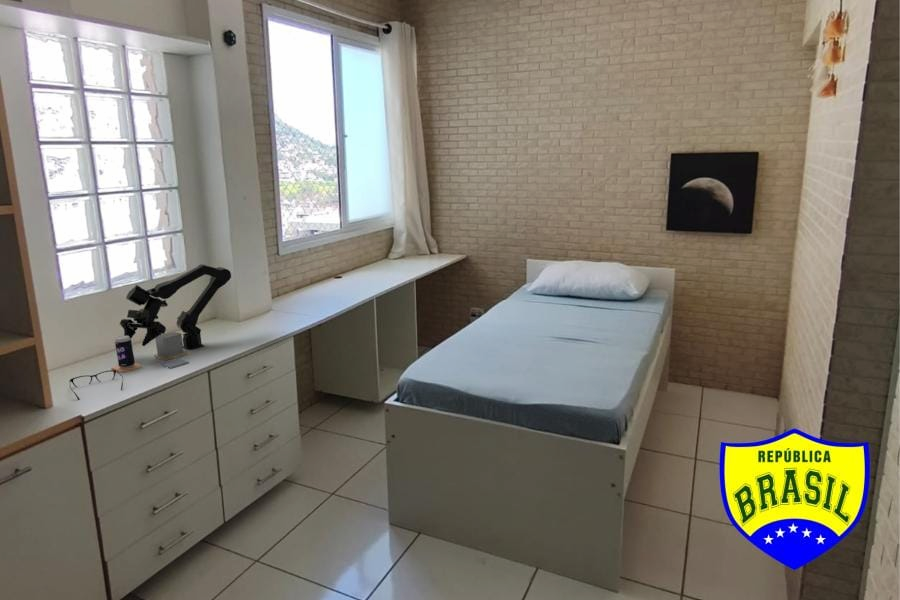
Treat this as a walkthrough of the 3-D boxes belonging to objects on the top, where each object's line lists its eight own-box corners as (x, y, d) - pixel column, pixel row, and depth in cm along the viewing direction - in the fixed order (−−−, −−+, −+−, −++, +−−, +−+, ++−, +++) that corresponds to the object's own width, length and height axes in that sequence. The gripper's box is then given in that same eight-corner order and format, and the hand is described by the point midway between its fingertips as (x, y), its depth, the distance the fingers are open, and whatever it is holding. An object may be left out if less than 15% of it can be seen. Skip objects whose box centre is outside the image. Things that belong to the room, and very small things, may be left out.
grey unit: (177, 350, 259) (174, 330, 257) (187, 354, 255) (184, 333, 253) (154, 357, 251) (151, 336, 249) (164, 360, 247) (161, 339, 245)
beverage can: (120, 365, 241) (115, 336, 238) (135, 363, 243) (131, 334, 240) (118, 369, 236) (113, 340, 233) (134, 367, 238) (129, 338, 235)
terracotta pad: (131, 363, 245) (131, 361, 245) (141, 366, 240) (141, 365, 240) (111, 369, 239) (111, 367, 238) (121, 372, 234) (121, 371, 234)
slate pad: (178, 359, 248) (177, 358, 248) (189, 363, 244) (189, 361, 244) (159, 365, 242) (159, 363, 242) (170, 368, 237) (170, 367, 237)
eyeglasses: (119, 378, 230) (118, 368, 229) (127, 390, 217) (125, 380, 216) (69, 388, 220) (67, 378, 219) (73, 402, 208) (71, 391, 207)
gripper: (119, 299, 246) (101, 333, 238) (156, 302, 240) (139, 337, 233) (137, 313, 255) (120, 346, 247) (173, 316, 249) (157, 350, 242)
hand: (133, 344), depth 242 cm, fingers open, 9 cm apart
